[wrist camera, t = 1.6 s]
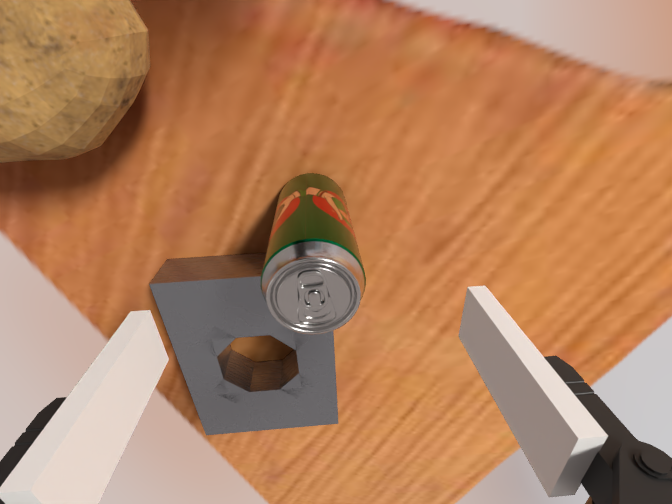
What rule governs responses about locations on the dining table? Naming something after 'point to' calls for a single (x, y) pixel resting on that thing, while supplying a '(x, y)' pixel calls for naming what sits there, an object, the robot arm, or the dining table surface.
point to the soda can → (312, 258)
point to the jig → (231, 367)
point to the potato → (67, 74)
